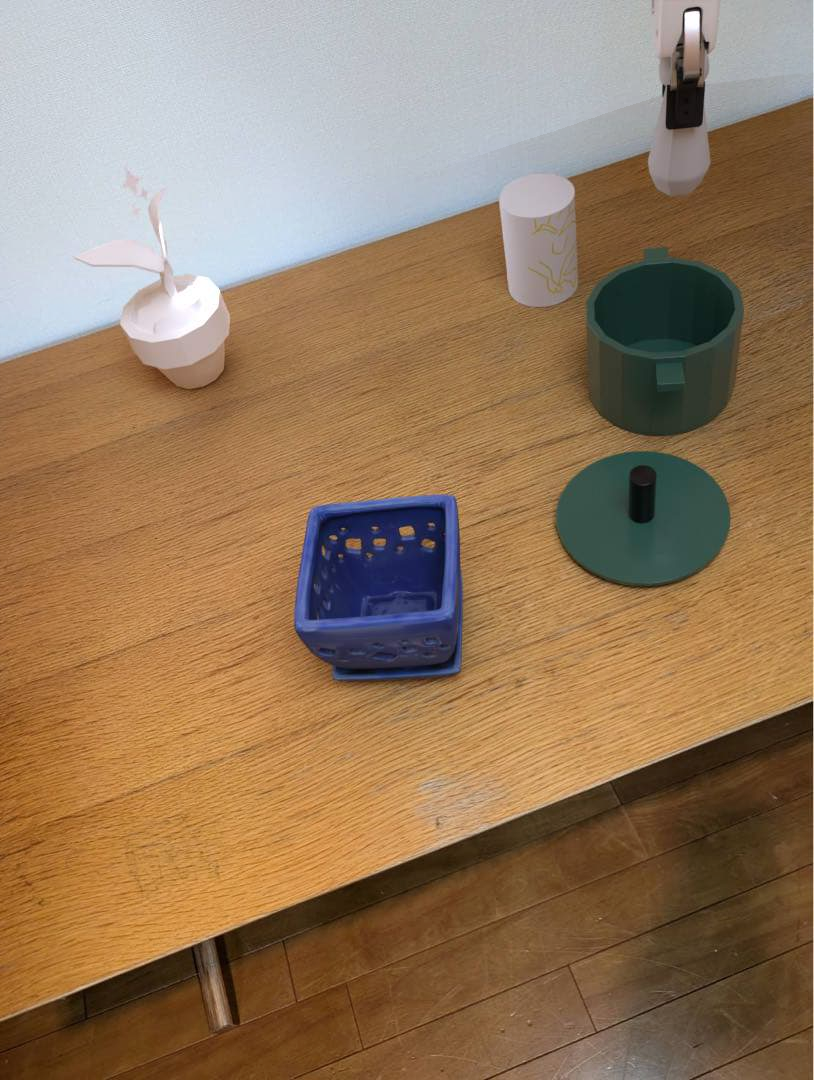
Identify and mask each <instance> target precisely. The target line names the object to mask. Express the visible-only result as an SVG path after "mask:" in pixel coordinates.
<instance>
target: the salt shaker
mask: <svg viewBox="0 0 814 1080" xmlns="http://www.w3.org/2000/svg"><path fill="white" fill-rule="evenodd" d="M678 48H683V45H682V46H678V47H676V49H678ZM682 66H683V59H678V69H679V67H682ZM670 68H671V57H667V58H663V60H660V59H659V65H658V75H659V76H658V77H659V80H660V83H661V84H664V85H665V86H666V88H665V92H664V96H663V97H662V101H661V105H660V108H659V113H658V118H657V121H656V126H655V130H654V135H653V138H652V142H651V146H650V151H649V154H648V157H647V166H648V172H649V173H648V174H649V176H650V177H651V180H652V181H653V184H654V186H655V189H656V190H658V191H659V192H661V193H663V194H665V195H667V196H669V197H677V196H686V195H690V194H692V192H694V191H695V190H696V189H698V187H699V186H700V185H701V183H702V181H703V180H704V178H705V176H706V175H707V172H708V170H709V168H710V166H711V152H710V145H709V144H710V143H709V134H708V126H707V118H706V109H705V107H704V110H703V123H702V125H701V126H700V127H693V128H683V129H674V130H668V129H667V128H666V123H665V122H666V95H667V85H670ZM709 73H710V58H709V54H707V52H706V51H705V64H704V81H706V79H707V77H708V76H709Z"/></svg>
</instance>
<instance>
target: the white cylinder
mask: <svg viewBox="0 0 814 1080" xmlns="http://www.w3.org/2000/svg"><path fill="white" fill-rule="evenodd" d="M575 191H576V190H575V186H574V185H573V183H572V182H571V181H570V180H569V179H568V178H566V177H565V176H562V175H559V174H556V173H551V172H538V173H537V172H536V173H530V174H526V175H523V176H520V177H517V178H516V179H514V180H512V181H510V182H509V183H507V184H506V185H505V186H504V187H503V189H502V190H501V191H500V193H499V197H498V202H499V203H498V205H499V212H500V221H501V231H502V240H503V250H504V258H505V259H504V260H505V269H506V277H507V278H506V279H507V287H508V292H509V294H510V297H511V298H512V299H513V300H514V301H515V302H517V303H519V304H521V305H523V306H527V307H531V308H532V307H533V308H546V307H553V306H555V305H558V304H561V303H563V302H565V301H566V300H568V299H569V298H571V297H572V296H573V295H574V294H575V292H577V289H578V287H579V286H578V285H579V265H578V264H579V263H578V262H579V261H578V240H577V238H578V237H577V217H576V216H577V215H576V214H577V213H576V192H575Z"/></svg>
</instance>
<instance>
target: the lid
mask: <svg viewBox="0 0 814 1080" xmlns="http://www.w3.org/2000/svg"><path fill="white" fill-rule="evenodd" d="M728 501H729V500H728V499H727V496H726V494H725V492H724V491H723V489H722V487H721V486H720V484H719V483H718V482H717V480H716V479H715V478H714V477H712V475H710V474H709V473H708V472H707V471H706V470H704V469H703V468H701V467H700V466H698V465H697V464H695V463H694V462H691V461H689V460H688V459H684V458H682V457H680V456H676V455H673V454H670V453H665V452H661V451H660V452H659V451H649V450H640V451H639V450H635V451H626V452H620V453H615V454H612V455H609V456H605V457H603V458H601V459H599V460H596V461H594V462H592V463H590V464H589V465H587V466H586V467H584V468H583V469H581V470H579V472H578V473H576V474H575V475H574V476H573V477H572V478H571V479H570V481H569V482H568V483H567V484H566V485H565V488H564V489H563V491H562V492H561V494H560V496H559V500H558V503H557V506H556V513H555V521H556V530H557V533H558V537H559V539H560V542H561V543H562V546H563V548H564V549H565V551H566V552H567V553H568V555H570V557H571V558H572V559H573V561H575V563H577V564H578V565H579V566H580V567H582V568H583V569H585V570H586V571H588V572H589V573H591V574H592V575H594V576H597V577H599V578H601V579H604V580H607V581H609V582H612V583H617V584H620V585H623V586H624V585H626V586H634V587H654V586H663V585H668V584H672V583H675V582H678V581H681V580H682V581H683V580H684V579H686V578H688V577H691V576H693V575H695V574H697V573H698V572H700V571H702V570H703V569H704V568H705V567H706V566H708V565H710V563H712V561H713V560H714V559H715V558H716V557H717V556H718V555H719V554H720V552H721V550H722V549H723V547H724V546H725V543H726V541H727V539H728V536H729V532H730V525H731V510H730V506H729V502H728Z"/></svg>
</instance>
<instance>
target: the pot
mask: <svg viewBox="0 0 814 1080" xmlns="http://www.w3.org/2000/svg"><path fill="white" fill-rule="evenodd" d="M642 254H643V255H642V256H643V259H642V260H639V261H635V262H633V263H631V264H628V265H624V266H621V267H618V268H616V269H614V270H613V271H611V272H610V273H609V274H607V275H606V276H605V277H603V278H602V279H601V280H599V281H598V282H596V284H595V286H594V287H593V289H592V291H591V293H590V294H589V296H588V297H587V300H586V301H585V319H586V321H585V323H586V324H585V325H586V351H587V352H586V353H587V379H588V380H587V381H588V382H587V383H588V397H589V398H590V401H591V403H592V405H593V407H594V409H595V410H596V411H597V412H598V414H599V415H600V416H601V417H602V418H604V420H606V421H607V422H609V423H610V424H612V425H613V426H615V427H617V428H619V429H622V430H625V431H626V432H629V433H634V434H637V435H643V436H651V437H653V436H654V437H667V436H675V435H680V434H681V435H682V434H685V433H689V432H692V431H695V430H698V429H701V427H703V426H705V425H708V424H709V423H710V422H712V421H713V420H715V419H716V418H717V417H718V416H719V415H720V414H721V413H722V412H723V411H724V410H725V409H726V407H727V406H728V405H729V402H730V401H731V398H732V394H733V390H734V388H735V386H736V377H737V369H738V362H739V353H740V346H741V337H742V329H743V322H744V313H745V307H744V302H743V295H742V291H741V288H739V287H738V285H737V284H735V282H734V281H733V280H732V278H730V277H729V275H728V274H726V273H725V272H724V271H722V270H719V269H717V268H715V267H712V266H710V265H709V264H706V263H704V262H702V261H699V260H692V259H686V258H680V257H674V256H673V257H671V256H669V248H668V246H662V247H661V246H660V247H650V248H649V247H648V248H643V253H642Z"/></svg>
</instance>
